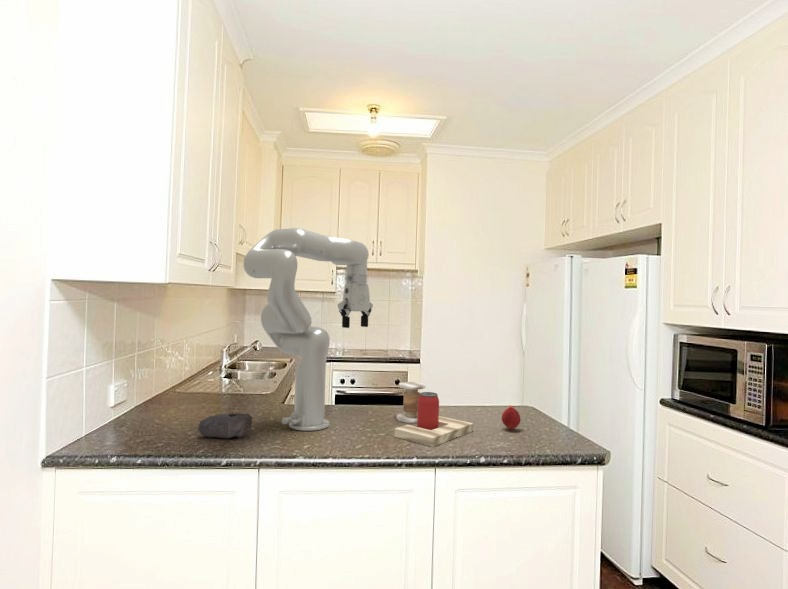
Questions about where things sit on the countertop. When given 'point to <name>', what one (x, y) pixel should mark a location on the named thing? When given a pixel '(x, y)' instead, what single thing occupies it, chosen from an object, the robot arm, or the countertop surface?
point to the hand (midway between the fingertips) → (355, 327)
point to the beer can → (428, 411)
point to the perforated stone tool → (226, 425)
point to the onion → (511, 418)
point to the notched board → (434, 432)
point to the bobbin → (410, 401)
